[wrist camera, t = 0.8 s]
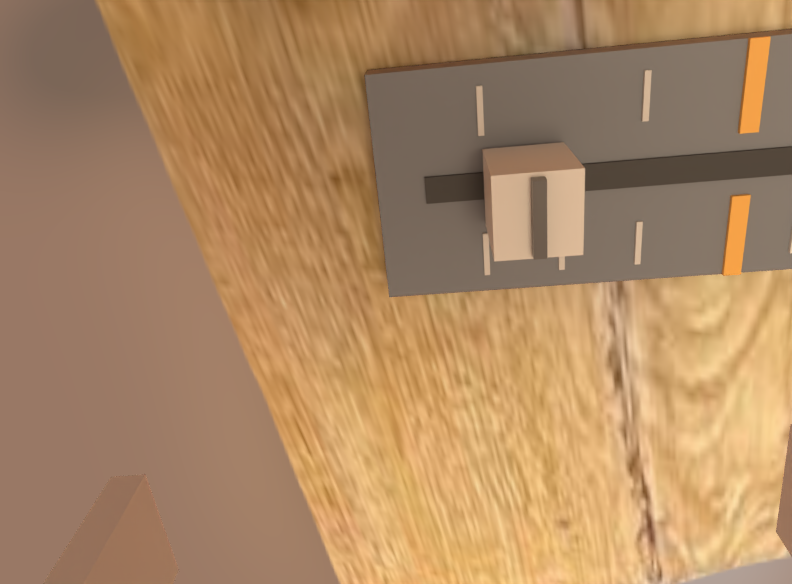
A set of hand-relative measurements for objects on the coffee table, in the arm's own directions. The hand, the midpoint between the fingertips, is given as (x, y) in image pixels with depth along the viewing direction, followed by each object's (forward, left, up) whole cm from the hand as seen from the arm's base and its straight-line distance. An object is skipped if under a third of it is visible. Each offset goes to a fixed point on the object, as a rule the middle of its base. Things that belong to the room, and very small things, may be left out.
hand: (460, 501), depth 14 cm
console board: (0, +10, -25) cm, 27 cm away
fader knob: (0, +4, -23) cm, 23 cm away
